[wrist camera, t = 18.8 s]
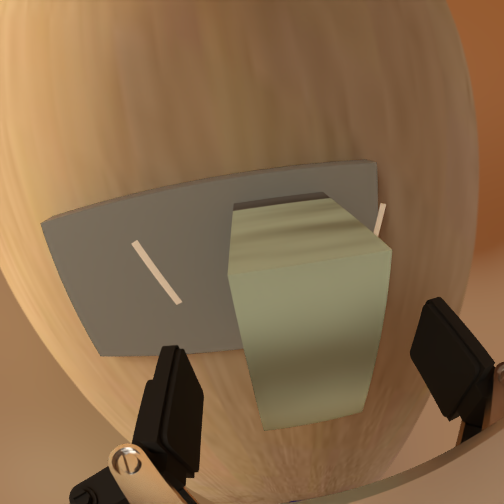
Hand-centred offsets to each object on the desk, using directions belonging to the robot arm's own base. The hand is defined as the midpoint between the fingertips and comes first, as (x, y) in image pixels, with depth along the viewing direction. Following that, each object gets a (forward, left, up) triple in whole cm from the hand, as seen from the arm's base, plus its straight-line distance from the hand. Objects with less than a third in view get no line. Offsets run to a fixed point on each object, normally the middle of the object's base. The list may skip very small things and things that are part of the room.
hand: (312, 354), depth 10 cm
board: (+1, -5, -9) cm, 11 cm away
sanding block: (+1, 0, -8) cm, 8 cm away
